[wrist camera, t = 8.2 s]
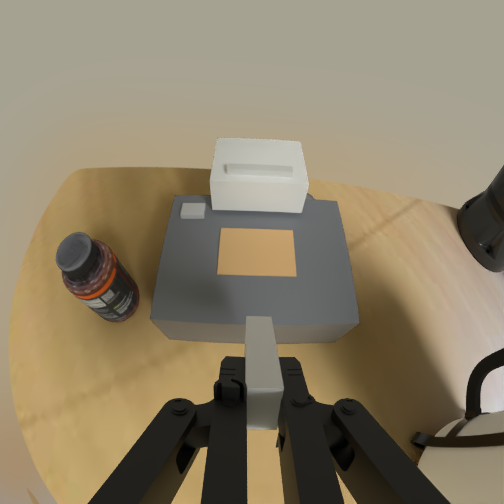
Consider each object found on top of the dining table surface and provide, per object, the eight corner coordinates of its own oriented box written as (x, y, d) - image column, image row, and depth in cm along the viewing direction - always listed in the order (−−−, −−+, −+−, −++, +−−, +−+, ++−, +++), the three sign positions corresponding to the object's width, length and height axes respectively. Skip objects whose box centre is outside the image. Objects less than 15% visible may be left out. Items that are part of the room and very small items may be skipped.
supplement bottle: (109, 272, 31) (68, 217, 22) (148, 285, 31) (113, 227, 21) (90, 314, 28) (37, 269, 18) (129, 331, 27) (80, 289, 18)
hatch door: (295, 168, 31) (301, 136, 27) (301, 213, 27) (310, 179, 23) (218, 165, 31) (217, 132, 27) (212, 209, 27) (209, 175, 23)
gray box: (319, 223, 37) (334, 183, 30) (335, 342, 28) (362, 320, 21) (187, 218, 36) (178, 177, 30) (169, 339, 27) (147, 316, 21)
